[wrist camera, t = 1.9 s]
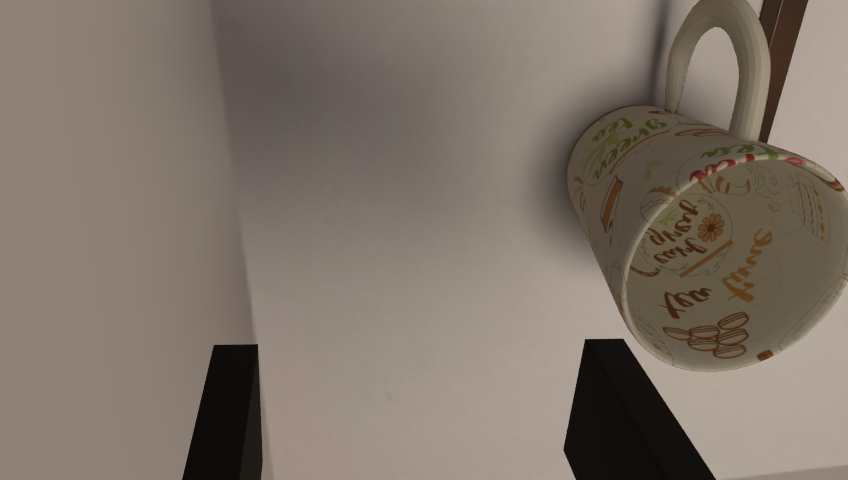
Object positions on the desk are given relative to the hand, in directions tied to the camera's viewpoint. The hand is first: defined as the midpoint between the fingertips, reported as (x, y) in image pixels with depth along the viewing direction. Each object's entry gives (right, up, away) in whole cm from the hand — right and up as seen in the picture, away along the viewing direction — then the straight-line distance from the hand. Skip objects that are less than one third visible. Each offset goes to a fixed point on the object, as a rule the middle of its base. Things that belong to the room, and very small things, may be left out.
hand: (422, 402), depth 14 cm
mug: (+9, +8, +19) cm, 23 cm away
